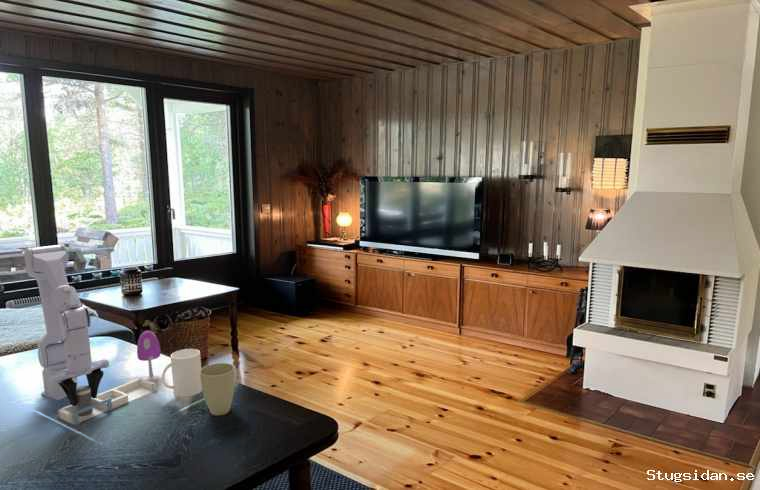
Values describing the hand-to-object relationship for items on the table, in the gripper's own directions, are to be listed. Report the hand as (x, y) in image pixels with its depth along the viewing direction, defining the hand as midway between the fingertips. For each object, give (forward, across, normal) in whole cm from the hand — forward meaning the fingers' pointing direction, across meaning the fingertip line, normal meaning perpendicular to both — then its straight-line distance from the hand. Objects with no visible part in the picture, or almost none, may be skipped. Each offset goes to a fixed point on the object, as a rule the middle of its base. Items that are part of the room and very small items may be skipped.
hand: (83, 401), depth 141 cm
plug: (+3, 0, 0) cm, 3 cm away
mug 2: (+4, +21, -29) cm, 36 cm away
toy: (+4, +25, +8) cm, 27 cm away
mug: (+4, +22, -12) cm, 25 cm away
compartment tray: (+4, +7, 0) cm, 8 cm away
